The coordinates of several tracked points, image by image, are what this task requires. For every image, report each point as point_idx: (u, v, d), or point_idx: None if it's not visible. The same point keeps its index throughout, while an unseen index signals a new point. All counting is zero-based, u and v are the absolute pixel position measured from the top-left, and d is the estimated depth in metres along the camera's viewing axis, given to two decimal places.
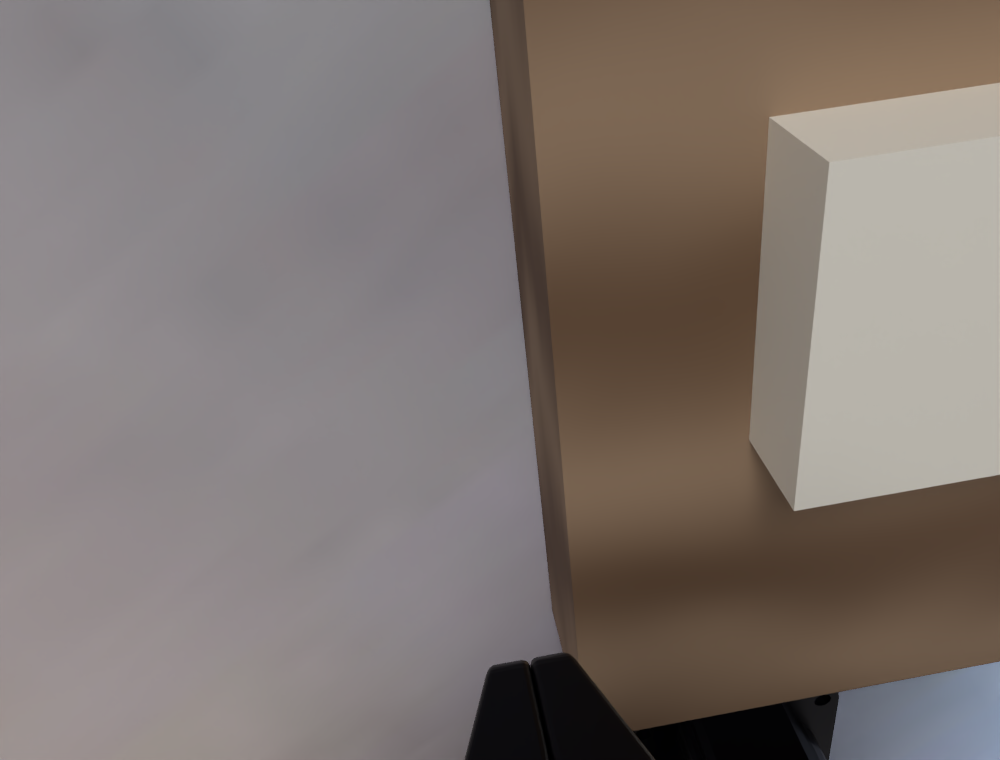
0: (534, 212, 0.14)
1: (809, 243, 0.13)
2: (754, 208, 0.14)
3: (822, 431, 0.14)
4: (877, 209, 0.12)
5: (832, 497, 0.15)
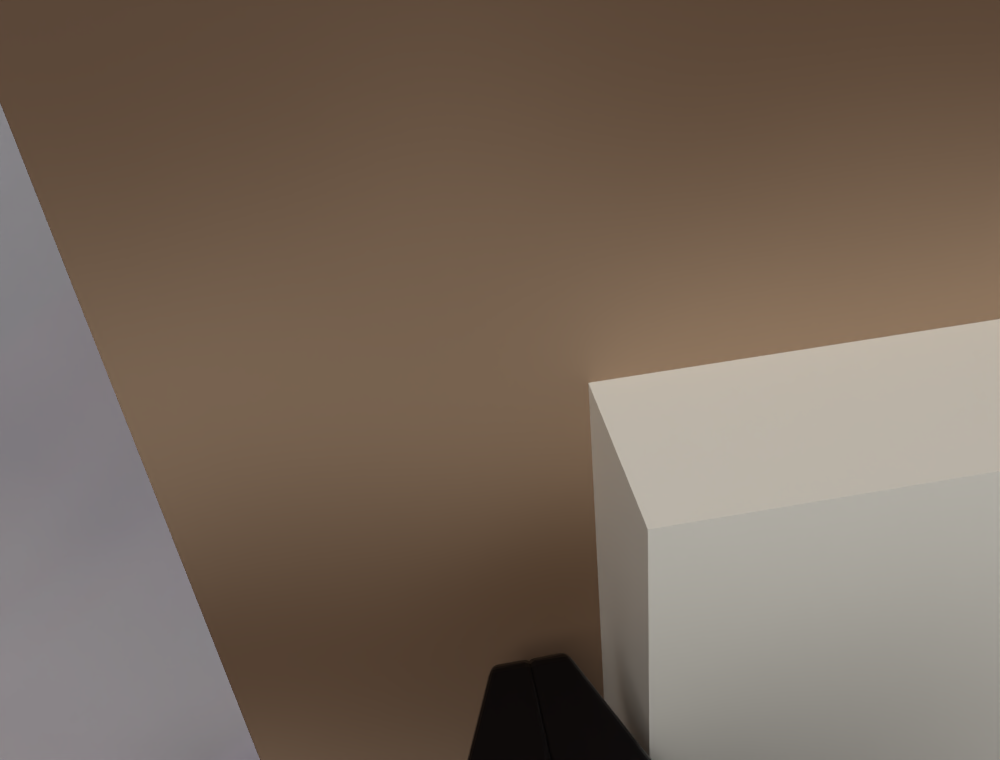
0: None
1: (637, 618, 0.07)
2: (526, 514, 0.09)
3: None
4: (741, 588, 0.07)
5: None
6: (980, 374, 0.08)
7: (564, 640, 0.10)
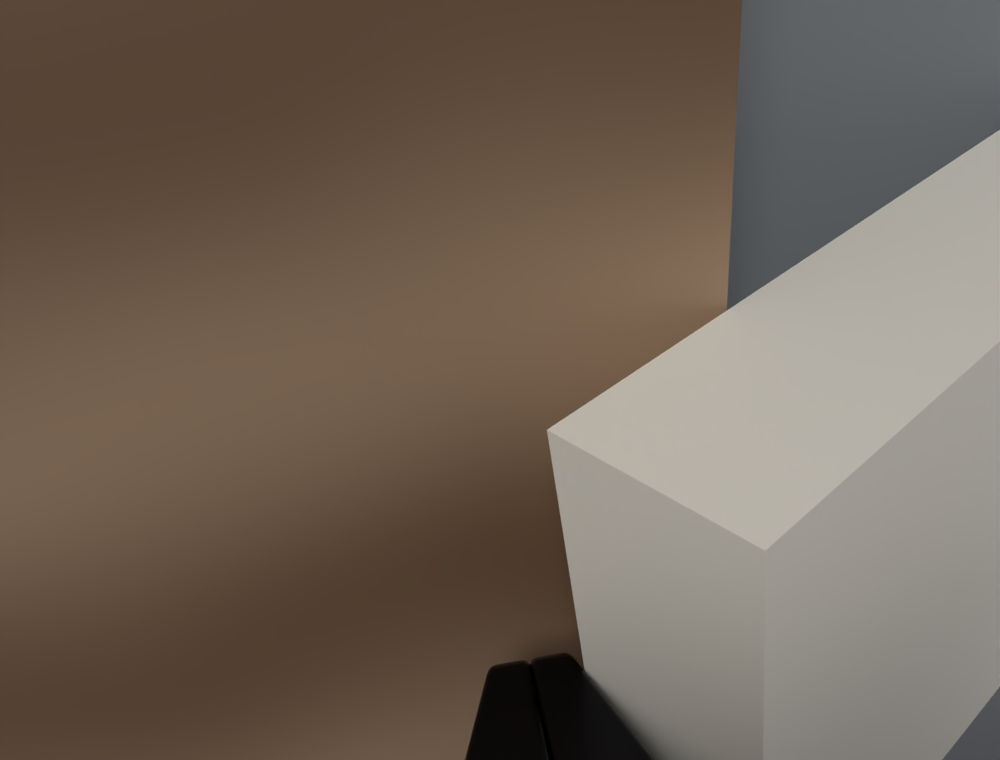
0: None
1: (725, 659, 0.06)
2: None
3: None
4: (829, 572, 0.06)
5: None
6: (876, 285, 0.08)
7: None
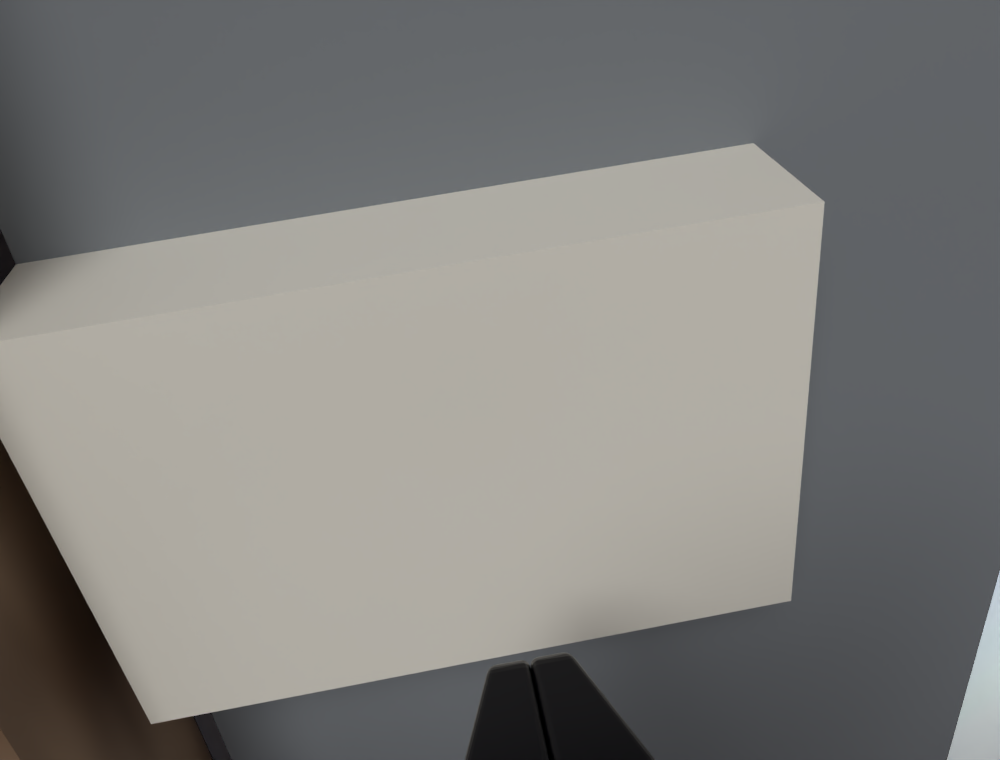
0: None
1: (16, 434, 0.10)
2: None
3: (136, 640, 0.11)
4: (59, 400, 0.09)
5: (193, 708, 0.12)
6: (286, 245, 0.10)
7: None
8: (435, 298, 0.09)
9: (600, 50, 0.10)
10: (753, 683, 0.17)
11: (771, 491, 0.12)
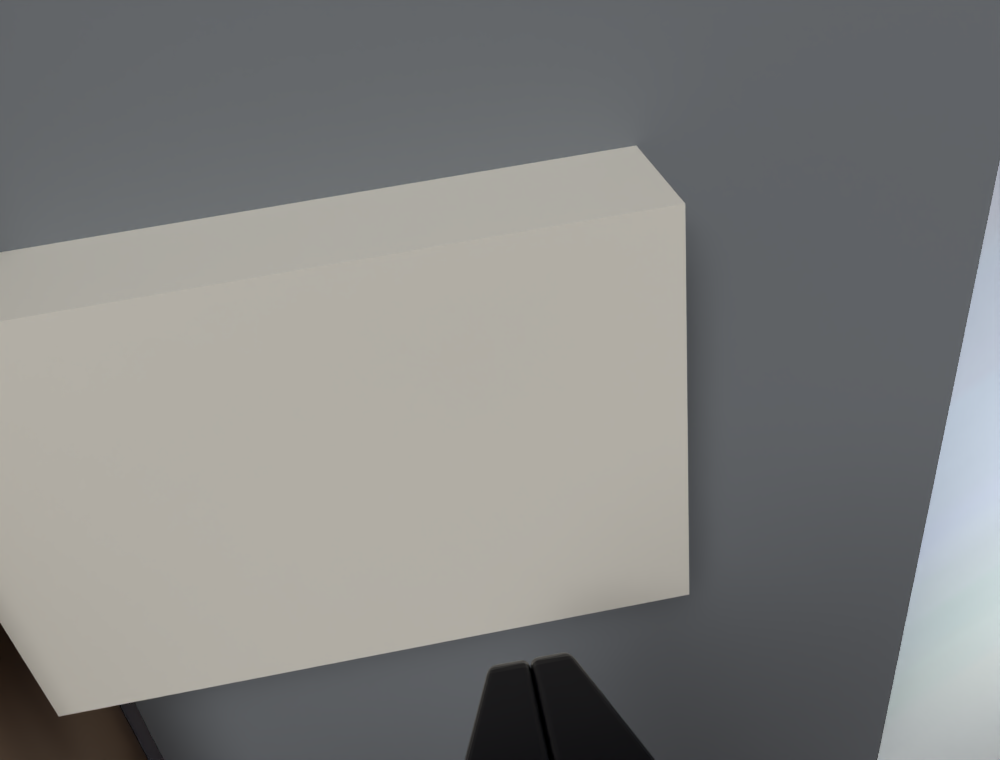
0: None
1: None
2: None
3: (37, 635, 0.12)
4: None
5: (99, 700, 0.12)
6: (168, 248, 0.10)
7: None
8: (306, 299, 0.10)
9: (476, 55, 0.10)
10: (678, 676, 0.17)
11: (659, 487, 0.12)
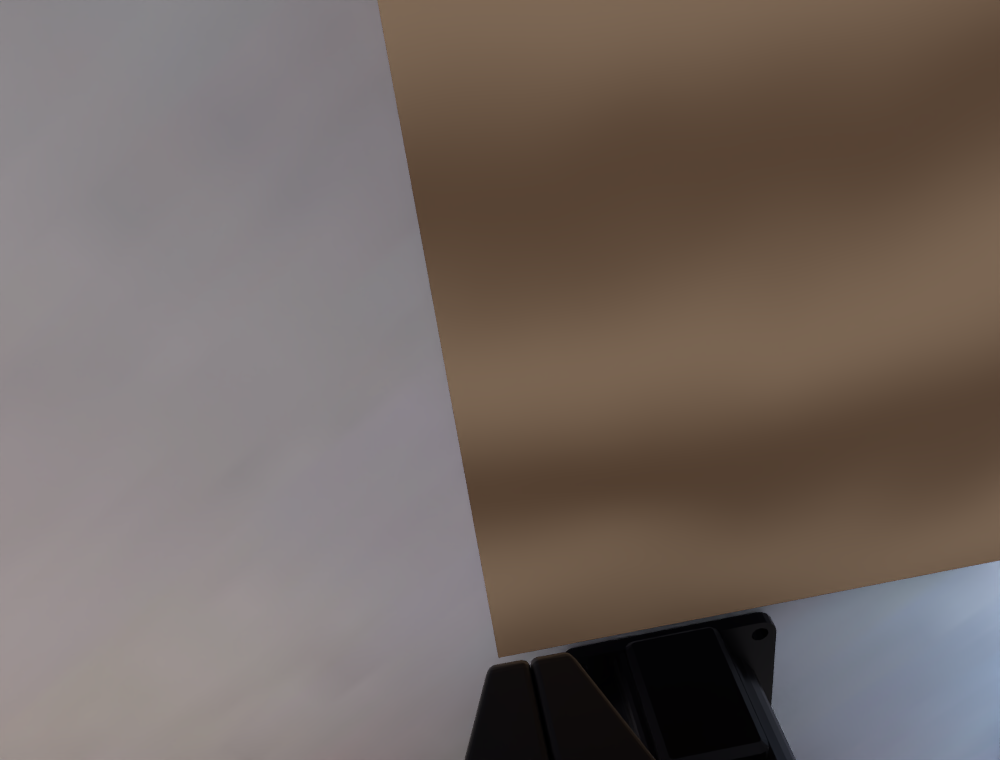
0: None
1: None
2: (612, 84, 0.14)
3: None
4: None
5: None
6: None
7: (635, 197, 0.15)
8: None
9: None
10: None
11: None
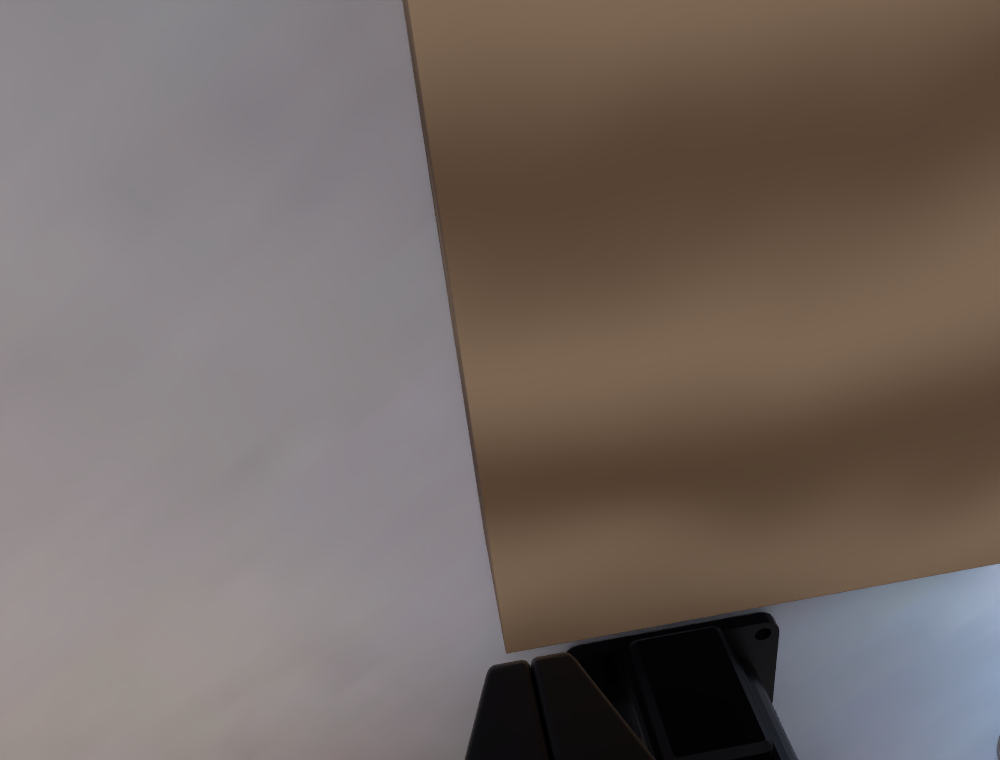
0: (419, 83, 0.14)
1: None
2: (637, 77, 0.14)
3: None
4: None
5: None
6: None
7: (656, 192, 0.15)
8: None
9: None
10: None
11: None
